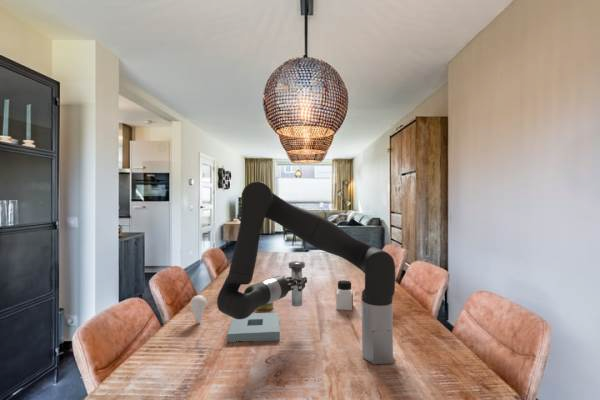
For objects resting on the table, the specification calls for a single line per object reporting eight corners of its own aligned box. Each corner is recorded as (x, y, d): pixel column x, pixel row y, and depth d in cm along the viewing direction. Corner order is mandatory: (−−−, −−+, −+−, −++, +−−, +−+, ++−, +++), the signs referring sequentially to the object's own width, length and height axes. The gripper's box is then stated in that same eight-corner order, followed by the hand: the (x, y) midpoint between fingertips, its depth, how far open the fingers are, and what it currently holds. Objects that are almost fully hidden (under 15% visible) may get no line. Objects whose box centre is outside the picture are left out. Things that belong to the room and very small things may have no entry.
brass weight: (276, 307, 136) (276, 285, 136) (266, 312, 130) (265, 289, 130) (264, 304, 140) (264, 283, 140) (253, 309, 134) (253, 286, 134)
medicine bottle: (352, 310, 131) (352, 283, 131) (336, 309, 133) (335, 282, 133) (352, 305, 138) (352, 279, 138) (337, 304, 140) (337, 278, 140)
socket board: (279, 340, 104) (279, 331, 104) (227, 342, 102) (227, 334, 102) (278, 319, 122) (278, 312, 122) (234, 321, 120) (234, 314, 120)
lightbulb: (201, 318, 123) (200, 292, 123) (209, 322, 119) (209, 295, 119) (187, 323, 119) (187, 296, 119) (195, 327, 115) (195, 299, 115)
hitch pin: (305, 307, 109) (305, 264, 109) (289, 307, 108) (289, 264, 108) (304, 301, 115) (303, 261, 115) (288, 302, 114) (288, 261, 114)
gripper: (288, 281, 96) (316, 271, 110) (256, 275, 104) (286, 266, 118) (288, 305, 96) (317, 291, 110) (256, 297, 104) (286, 285, 118)
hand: (300, 278), depth 114 cm, fingers closed on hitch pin, 4 cm apart
